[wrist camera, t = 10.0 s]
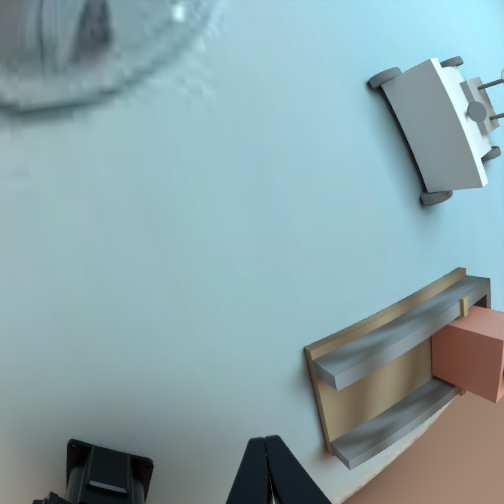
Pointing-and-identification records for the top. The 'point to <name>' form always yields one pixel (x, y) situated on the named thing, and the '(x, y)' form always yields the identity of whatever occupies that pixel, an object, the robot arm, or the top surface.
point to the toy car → (443, 123)
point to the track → (388, 368)
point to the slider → (472, 352)
